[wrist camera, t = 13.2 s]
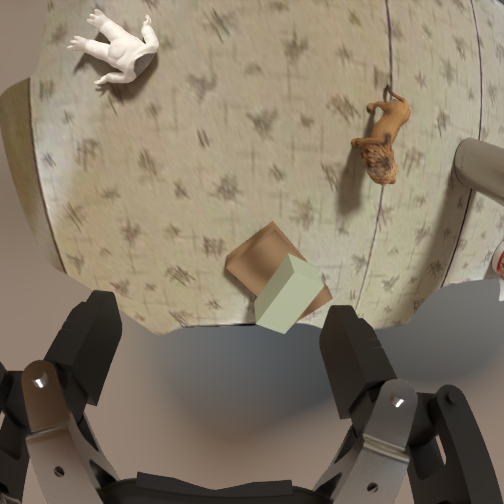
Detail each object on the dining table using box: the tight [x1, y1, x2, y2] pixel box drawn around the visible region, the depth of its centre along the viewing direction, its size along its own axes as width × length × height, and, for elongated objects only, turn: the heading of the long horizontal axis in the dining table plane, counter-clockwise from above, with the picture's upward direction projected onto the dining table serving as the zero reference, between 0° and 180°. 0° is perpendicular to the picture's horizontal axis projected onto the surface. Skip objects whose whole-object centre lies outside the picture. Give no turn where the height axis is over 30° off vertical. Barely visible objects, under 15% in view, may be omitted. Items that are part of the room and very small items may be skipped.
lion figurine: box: [352, 84, 410, 186], centre depth 30 cm, size 15×5×9 cm, turn 165°
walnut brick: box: [226, 221, 333, 323], centre depth 44 cm, size 9×16×4 cm, turn 39°
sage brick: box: [254, 253, 324, 334], centre depth 40 cm, size 5×10×5 cm, turn 151°
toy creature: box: [67, 9, 159, 85], centre depth 24 cm, size 12×6×12 cm
